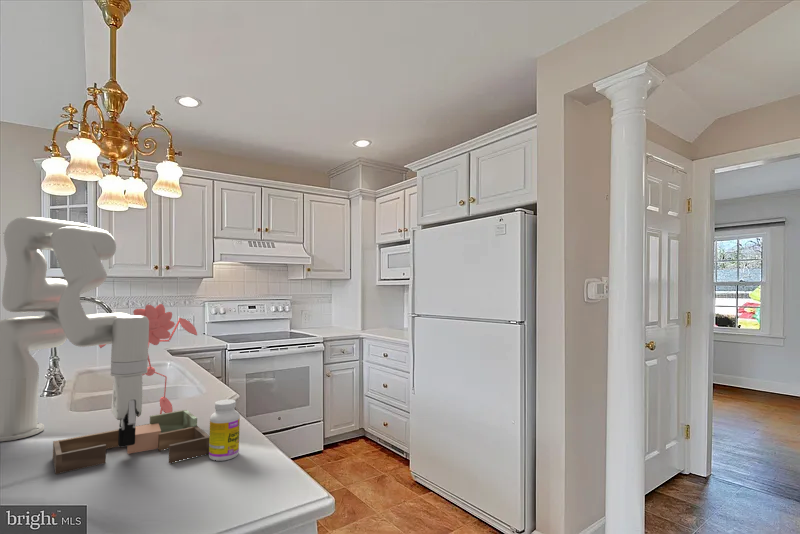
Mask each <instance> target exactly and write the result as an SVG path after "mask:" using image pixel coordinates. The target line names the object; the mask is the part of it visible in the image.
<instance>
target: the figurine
mask: <svg viewBox="0 0 800 534" xmlns="http://www.w3.org/2000/svg"><path fill="white" fill-rule="evenodd" d="M132 313H133V315H141V316H146V317H147V318H148V320H149V342H148V349H149V347H150V344H151V345H153V346H158V345H159V343H162V342H170V341H171V340H172V338H173V335H174V334H175V332H176V330H177V329H178V326H179V324H180V326H181V327H182V328H183V329H184V330H185V331H186V332H188V333H189V334H192V335H195V336H198V331H197V328H196V327H195V325H194V324H193V323H192V322H190V321H189V320H188V319H186V318H182V317H178V321H177V322H176V323H175V322H174V321H172V320H171V319H172V318H173V313H172V311H168V312H166V308H165V306H164V304H163V303H159V304H158V305H156V307H155V306H154V305H152V304H146V305H145V307H144V308H136V309H134V310H133V311H132ZM172 329H173V330H172ZM169 330H172V332H170V331H169ZM106 345H107V344H104V345H98V347H99V348H100V349H102V348H104V347H105V346H106ZM150 360H151V359H150V355H149V354H148V365H149V366H148V367H147V373H145V374H142V376H144V375H146V376H147V377H148V376H149V377H151V376H153V375H155V374H157V375H159V376H161V377H165V379H164V380H165V381H164V390H163V391H164V392H163V393H164V394H163V396H162V397H160V398H159V407H160V410H159V414H163V413H170V412H173V404H172V403H171V401H170V400H169V399H168V398H167V397H166V390H167V379H168V377H167V375H163V374H162V373H160V372H157V371H156V369H155V367H154V366H152V364H151V361H150Z"/></svg>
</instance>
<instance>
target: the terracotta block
mask: <svg viewBox="0 0 800 534" xmlns="http://www.w3.org/2000/svg"><path fill="white" fill-rule="evenodd" d="M149 424H150V423H149ZM142 425H143V426H139V425H135V426H136V429H135V444H134V445H129V446H126V450H127V455H130V454H134V453H141V452H145V451H151V450H157V448H158V439H159V433H161V430H160V426H159V423H156V424H150V425H145V424H142Z"/></svg>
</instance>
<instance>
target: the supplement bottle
mask: <svg viewBox="0 0 800 534" xmlns="http://www.w3.org/2000/svg"><path fill="white" fill-rule="evenodd" d="M236 404H237V402H236V400H235V399H232V398H231V399H230V398H229V399H228V398H227V399H221V400H220V399H219V400H217V401H215V402H214V412H213V413H212V414H211V415H210V417H209V454H208V457H209V459H210V460H212V461H215V460H216V462H221V461H224V462H225V461H228V460H232V459H235V458H236V457H238V454H239V453H240V451H239V450H240V422H241V421H240V420H241V415H240V413H239V411H237V410H235V408H236V406H237V405H236Z"/></svg>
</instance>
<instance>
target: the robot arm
mask: <svg viewBox="0 0 800 534" xmlns="http://www.w3.org/2000/svg"><path fill="white" fill-rule="evenodd" d="M3 245H4V249H5V255H6V266H5V271H4V280H3V287H2V296H1V297H2V298H1V302H2V307H3V309H4V310H6V311H8V312H10V313H19V314H23V313H24V314H26V313H27V314H28V313H44V315H37V316H36V315H35V316H33V315H31V316H30V315H29V316H17V317H16V316H15V317H9V318H3V319H1V320H0V442H9V441H15V440H20V439H26V438H29V437H31V436H34V435H38V434H40V433H41V432H43V431H44V430H45V424H44V423H41V422H38V411H39V409H38V408H39V407H38V406H39V385H40V384H39V379H40V366H39V364H38V361H37V360H36V359H35V357H33V355H32V354H31V353H30V352H33V351H38V350H39V351H40V350H47V349H53V348H57V347H61V346H62V345H64V344H65V343H66V341H67V340H68V341H69V342H70V343H71V344H72V345H74V346H76V347H79V348H89V347H96V346H99V345H104V344H106V345H111V353H110V354H111V355H110V356H111V357H110V376H111V377H113V384H112V385H113V386H112V400H111V414H112V415H113V417H114V418H115V419H116V421H118V422H119V423H118V424H119V426H118V427H119V428H118V429H119V434H118V445H119V446H118V447H119V448H125V447H127V446H129V445H134V444H135V429H136V427H135V426H136V422H137V421H136V420H137V418H139V417H140V416H141V415H142V411H143V410H142V409H143V383H144V382H143V375H142V374H145V373H147V367H149V366H148V365H149V362H148V355H149V348H148V342H149V320H148V318H147V317H146V316H141V315H134V314H132V315H131V314H129V313H125V312H111V313H110V312H109V313H104V312H103V313H91V314H89V313H88V314H86V313H85V311H84V308H83V305H82V303H81V295H82V294H85V293H87V292H90V291H92V290H94V289H96V288H98V287H99V286H102V285H103V283H104V282H105V281H106V280H107V278H108V274H107V273H108V272H107V271H106V269H105V267H104V265H103V262H102V261H108V260H110V259H111V258H113V257H114V255H115V253H116V251H117V243H116V241H115V238H114V237H113V235H112V234H111V233H109V231H108V230H104V229H102V228H98V227H96V226H95V227H94V226H91V225H89V224H85V223H81V222H76V221H75V222H74V221H68V220H60V219H52V218H46V217H38V216H37V217H35V216H23V217H21V216H20V217H16V218H14V219H13V220H11V221H10V222H9V223H8V224H7V226H6V227H5V229H4V233H3ZM41 250H44V251H45V250H46V251H53V252H54V255H55V258H56V260H57V262H58V266H59V267H60V270H61V272H62V275H63V277H64V279H62V278H56V277H55V278H52V277H49V278H47V271H48V261H47V259H46V257H45V255H44V254H43V253H42V251H41ZM145 375H146V374H145Z"/></svg>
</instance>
